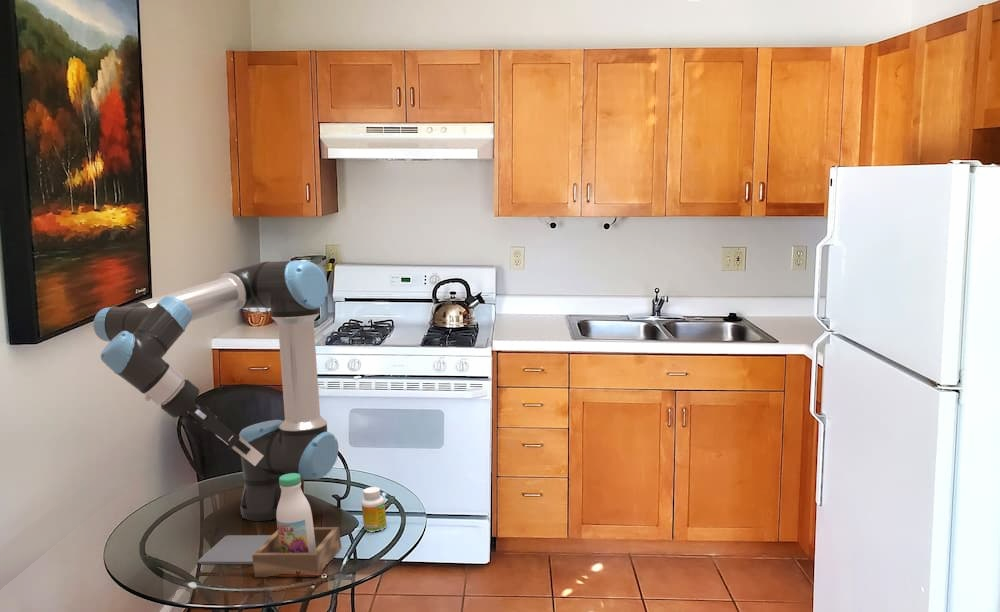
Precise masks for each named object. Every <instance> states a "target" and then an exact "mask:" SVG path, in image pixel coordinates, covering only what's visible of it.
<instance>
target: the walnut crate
mask: <svg viewBox="0 0 1000 612" xmlns="http://www.w3.org/2000/svg"><path fill="white" fill-rule="evenodd" d="M313 527H314V535H315V544H316V549H315V551H314V552H313V553H280V547H279V539H278V530H276V531H275V532H274V533H273V534H271V535H272V536H271V537H270V538H269V539H268V540H267V541H266V542H265V543H264V544H263V545H262V546H261V547H260V548H259V549H258V550H257V551H256V552H255V553H254V554H253V555H252V557H253V564H252V565H253V572H254V578H269V577H268V576H274V575H278V574H281V573H289V572H296V571H297V572H299V571H301V572H305V573H319V572H320V570H321V569H323V568H324V567H325V565H326V564H328V563H329V561H331V560H332V561H333V559H334V558H335V556H336V555H337V554H338V553H339V551H340V550H341V549H342V540H341V533H340V532H341V531H340V527H339V526H337V527H336V526H328V527H327V526H326V527H325V526H322V527H321V526H319V527H318V526H317V527H315V526H313ZM332 561H331V562H332ZM329 564H330V563H329ZM329 564H328V565H329Z"/></svg>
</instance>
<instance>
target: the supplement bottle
mask: <svg viewBox="0 0 1000 612" xmlns="http://www.w3.org/2000/svg"><path fill="white" fill-rule="evenodd" d="M362 493H363V499H362V500H361V510H362V512H361V513H362V518H363V519H362V520H363V522H362V523H363V529H364V531H365V530H367V531H369V532H368V533H376V532H375V531H379V530H382V529H384V528H385V529H386V528H387V516H386V507H385V499H384V497H383V496H382V495H381V488H379V487H378V486H377V487H376V486H369V487H367V488H364V489H363V492H362ZM385 529H384V530H385ZM367 531H366V532H367ZM371 531H372V532H371ZM382 531H383V530H382ZM379 532H380V531H379Z"/></svg>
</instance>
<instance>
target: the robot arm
mask: <svg viewBox="0 0 1000 612" xmlns="http://www.w3.org/2000/svg"><path fill="white" fill-rule="evenodd" d="M328 292H329V288H328V281H327V278H326V276H325V274H324V272H323V270H322V269H320V268H319V266H318V265H317V264H315V263H314V262H311V261H307V260H305V261H304V260H296V259H295V260H286V261H284V260H283V261H280V260H279V261H260V262H257V263H253V264H250V265H246V266H243V267H240V268H238V269H234V270H232V271H228V272H225V273H222V274H220V275H219V276H218V278H217V279H214V280H212V281H207V282H204V283H201V284H196V285H194V286H190V287H187V288H184V289H180V290H177V291H173V292H169V293H166V294H161V295H159V296H156V297H152V298H147V299H145V300H141V301H138V302H134V303H130V304H126V305H123V306H110V307H104V308H101V309H100V310H99V311H98V312H97V313H96V315H95V317H94V319H93V330H94V333H95V335H96V336H97V338H98V339H100V340H102V341H104V342H108V343H107V344H106V345H105V347H104V348H103V350H102V351H101V353H100V360H101V361H102V362H103V363H104V364H105V365H106V367H108V368H109V369H110V370H111V371H112V372H113V373H114V374H116V375H118V376H119V377H120V378H122V379H123V380H124V381H126V382H127V383H128V384H130V385H131V386H132V387H134V388H135V389H137V390H138V391H139V393H141V394H143V395H144V396H145V397H144V400H145V401H146V402H149V401H150V400H151V401H152V402H153V403H154V404H156V405H158V406H159V405H160V407H161V410H163V411H164V412H165V413H167V414H168V415H169V416H171V417H172V418H179V417H180V416H182V415H183V414H184V413H185V412H186V413H188V414H187V416H186V417H187V418H188V419H189V420H190V421H191V422H193V423H195V424H197V425H199V426H200V427H201V428H203V429H205V430H207V431H210V432H211V433H212V434H215V436H216V437H217V438H218V439H220V440H221V441H223V442H224V443H225V444H226V445H227V446H226V449H227V450H229V451H231V449H232V450H234V451H235V452H236V453H237V454H239V455H240V462H241V468H242V475H243V481H244V487H243V492H242V497H241V500H240V501H241V502H240V507H239V508H240V516H241V515H242V516H241V518H243V519H244V518H245V520H246V519H247V521H251V520H252V522H264V521H266V520H267V521H271V520H272V519H273V520H275V519H274V518H276V512H277V506H278V503H279V500H280V497H281V488H280V484H279V478H280V477H281V476H282V475H285V474H289V473H297V474H300V477H301V479H303V480H309V479H310V480H311V479H312V480H318V479H322V478H323V477H326V476H327V475H328V474H329V473H330V472H331V471H332V469H333V468H334V466H335V464H336V462H337V459H338V456H339V442H338V438H337V437H336V436H335V435H334V434H333V433H331V432H330V431H328V425H327V424H328V423H327V420H326V419H324V418H323V417H322V416H321V410H320V397H319V396H320V395H319V381H318V367H317V365H318V364H317V363H318V362H317V353H316V352H317V351H316V350H317V349H316V336H315V320H316V319H317V318H318V317H319V316H320V308H321V307H323V305H324V304H325V303H326V298H328V294H329V293H328ZM251 308H252V309H260V308H261V309H262V308H264V309H269V310H270V317H271V319H272V320H273V321H275V322H276V323H277V326H278V327H277V328H278V329H277V330H278V343H279V355H280V357H279V359H280V369H281V380H282V381H281V383H282V384H281V385H282V396H283V397H282V398H283V409H284V411H283V413H284V420H282V419H272V420H266V421H261V422H258V423H254V424H250V425H248V426H246V427H244V428H242V429H241V431H240V432H239V434H238V433H237V434H236V433H235V432H234V431H233V430H232V429H231V428H229V427H228V426H226V425H225V424H226V422H225V421H223V420H222V419H220V420H219V419H218V416H217V415H216V414H215V413H214V412H212V411H211V410H210V407H208V406H207V405H205V404H204V403H203V402H201V401H199V402H198V403H196V399H198V397H199V395H200V389H199V387H197V386H196V385H195V384H194V383H192V382H191V381H190V380H189V379H185V378H184V375H183V374H182V373H181V372H179V371H178V370H176V369H175V368H174V367H173V366H172V365H171V364H170V363H168V362H167V361H165V359H163V357H164V356H166V354H167V352H168V351H169V350H170V349H171V348H172V347H173V345H175V343H176V341H177V340H179V338H180V337H181V336H182V335H183V334H184V332H186V329H187V327H188V326H189V324H190V323H191V322H192V321H195V320H199V319H202V318H205V317H207V316H211V315H214V314H217V313H221V312H223V311H226V310H228V311H232V312H237V311H240V310H243V309H251ZM267 521H266V522H267Z"/></svg>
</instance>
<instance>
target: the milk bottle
mask: <svg viewBox="0 0 1000 612" xmlns="http://www.w3.org/2000/svg"><path fill="white" fill-rule="evenodd" d="M279 484H280V488H281V497H280V500H279V503H278V506H277V512H276V519H275V520H276V526H277V528H276V529H277V530H278V539H279V547H280V553H313V552H314V551H315V549H316V544H315V535H314V527H315V526H314V521H313V513H312V509H311V504H310V503H309V501H308V499H307V497H306V496H305V494H304V492H303V490H302V488H301V487H302V486H301V485H302V478H301V477H300V474H297V473H289V474H285V475H282V476H281V477H280V478H279ZM277 530H276V531H277Z"/></svg>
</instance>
